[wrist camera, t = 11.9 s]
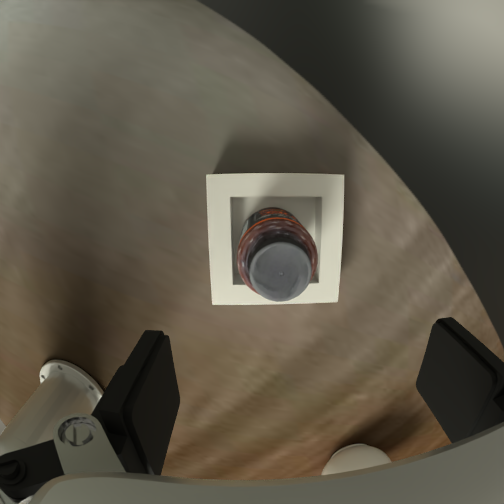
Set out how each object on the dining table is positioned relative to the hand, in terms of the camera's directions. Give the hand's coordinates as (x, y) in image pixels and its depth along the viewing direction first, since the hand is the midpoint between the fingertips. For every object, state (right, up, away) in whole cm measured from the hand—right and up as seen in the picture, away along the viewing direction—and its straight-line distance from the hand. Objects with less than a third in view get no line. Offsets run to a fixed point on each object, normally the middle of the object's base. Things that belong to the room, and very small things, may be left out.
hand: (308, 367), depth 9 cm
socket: (0, +6, +21) cm, 22 cm away
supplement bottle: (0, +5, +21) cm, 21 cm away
